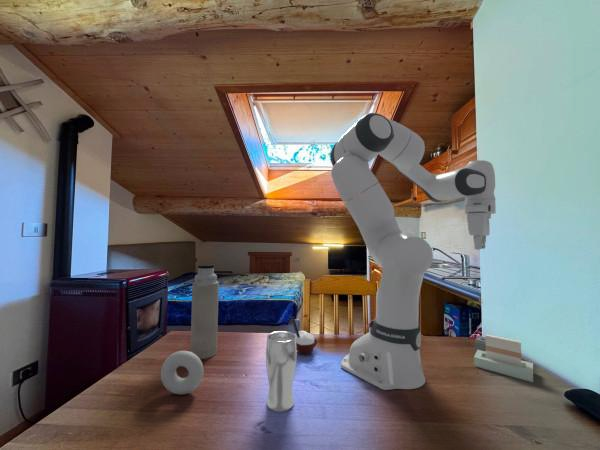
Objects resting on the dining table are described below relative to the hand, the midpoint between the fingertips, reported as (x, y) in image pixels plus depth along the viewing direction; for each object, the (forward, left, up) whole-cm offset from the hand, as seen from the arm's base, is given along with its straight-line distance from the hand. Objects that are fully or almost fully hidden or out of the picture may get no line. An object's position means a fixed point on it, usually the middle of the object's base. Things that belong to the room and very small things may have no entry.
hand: (480, 249), depth 93 cm
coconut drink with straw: (-43, -42, -34) cm, 69 cm away
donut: (-50, -79, -34) cm, 100 cm away
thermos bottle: (-66, -64, -34) cm, 98 cm away
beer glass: (-30, -66, -34) cm, 80 cm away
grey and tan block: (+5, -5, -34) cm, 35 cm away
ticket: (+7, -14, -34) cm, 37 cm away
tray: (+7, -14, -34) cm, 38 cm away
